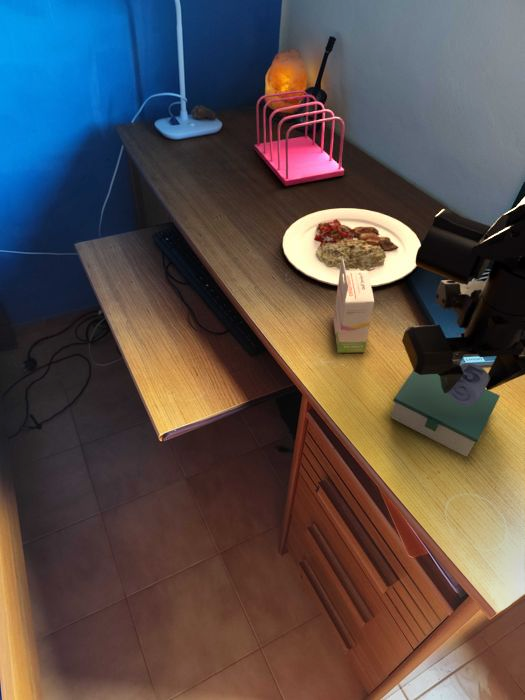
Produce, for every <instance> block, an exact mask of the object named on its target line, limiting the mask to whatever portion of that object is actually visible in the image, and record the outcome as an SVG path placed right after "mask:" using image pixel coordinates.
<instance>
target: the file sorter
mask: <svg viewBox="0 0 525 700" xmlns="http://www.w3.org/2000/svg"><path fill="white" fill-rule="evenodd" d="M293 94H302V95H295V96H289V97H287V95H293ZM280 96H286V97H282V98H281V97H280ZM273 97H280V98H274V99H270V100H268V101H267V102H266V103H265V104H264V106H263V109H262V132H263V142H261V143H260V120H259V118H260V117H259V116H260V115H259V108H260V107H259V105H260V103H261V101H263V100H264V99H266V98H273ZM305 98H306V103H299V104H296V105H290V106H285V107H281V108H277V109H275V110H274V111H272V112H271V114H270V116H269V118H268V134H269V135H268V136H269V142H268V141H267V139H266V135H267V133H266V109H267V107H268V106H269V105H270V104H272V103H277V102H283V101H291V100H297V99H305ZM310 98H311V99H313V101H311V102H310ZM313 105H314V111H310V112H309V108H310V107H309V106H313ZM318 105H319V106H320V107H321V110H320V109H319V110H318ZM302 107H306V110H305V112H304V113H298V114H292V115H288V116H284V117H282V119H281V120H280V121H279V123H278V125H277V140H274V141H273V133H272V119H273V117H274V115H275V114H276V113H279V112H284V111H288V110H293V109H298V108H302ZM255 112H256V114H255V115H256V116H255V117H256V144H255V143H254V151H255V152H256V153H257V154H258V156H259V157H260V158H261V159H262V160H263V162H264V163H265V164H266V166H268V168H269V169H270V170H271V171H272V172H273V173H274V175H275V176H276V177H277V178H278V180H279V181H280V182H281V183H282V184H283V185H284V187H289V186H293V185H299V184H306V183H310V182H315V181H319V180H326V179H330V178H335V177H341V176H344V174H345V169H344V168H343V167H342V160H343V159H342V158H343V149H344V136H345V122H344V120H343V119H342V118H341V117H339V116H335V113H334V112H333V111H332V110H330V109H325V105H324V104H323V103H322V102H320V101H317V98H316V97H315V96H314V95H312V94H308V93H307V92H306V91H305V90H303V89H301V90H300V89H299V90H292V91H285V92H278V93H271V94H265V95H262V96H260V98H259V99H258V100H257V102H256V106H255ZM326 113H329V114H330V116H331V117H328V118H327V117H326V116H325V115H326ZM317 114H321V119H317ZM311 115H313V120H312V121H309V116H311ZM300 117H305V122H302V123H298V124H294V125H292V126H290V127H289V129H288V130H287V131H286V133H285V139H281V126H282V125H283V123H284V122H285V121H287V120H289V119H296V118H300ZM325 117H326V118H325ZM335 120H336V121H339V122H340V123H341V131H340V144H339V156H338V163H337V161H335V160H334V159H333V147H334V133H335ZM326 122H331V133H330V145H329V147H330V148H329V154H328V153H327V152H326V151H325V150H324V138H325V123H326ZM320 123H321V138H320V139H321V140H320V146H319V145H318V144H317V143H316V129H317V127H316V126H317V124H320ZM309 125H313V130H312V138H311V137H309V135H308V126H309ZM301 127H304V128H305V129H304V136H298V137H297V136H296V137H292V138H289V135H290V133H291V131H293V130H294V129H296V128H301ZM255 147H256V148H257V149H258V151H259V152H260V153H261V155H262V156H263V157H264V158H263V157H262V156H261V155H260V153H259V152H258V151H257V150H256V149H255ZM265 160H266V161H267V162H266V161H265Z"/></svg>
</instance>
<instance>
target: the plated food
mask: <svg viewBox="0 0 525 700" xmlns="http://www.w3.org/2000/svg"><path fill="white" fill-rule="evenodd" d="M421 245H422V243H421V241H420V239H419V238H418V236H417V234H416V233H415V232H414V231H413V230H412V229H411V228H410V227H409V226H407V225H406V224H405V223H403V222H401V221H400V220H398V219H396V218H394V217H391V216H390V215H386V214H384V213H382V212H377V211H373V210H368V209H362V208H351V207H350V208H349V207H347V208H345V207H343V208H342V207H340V208H330V209H329V208H328V209H324V210H319V211H316V212H315V211H314V212H313V213H310V214H307V215H305V216H303V217H301V218H299V219H298V220H296V221H295V222H294V223H292V224H291V225H290V226H289V227H288V228H287V230H286V231H285V233H284V235H283V238H282V249H283V254H284V256H285V257H286V259H287V261H288V262H289V263H290V264H291V265H292V266H293V267H294V268H295V269H296V270H297V271H299V272H300V273H301V274H303V275H305V276H306V277H309V278H311V279H313V280H315V281H317V282H321V283H324V284H328V285H332V286H337V287H338V281H339V273H340V266H341V261H342V257H343V260H344V265H345V270H346V271H367V272H368V275H369V279H370V284H371V288H374V287H380V286H384V285H389V284H392V283H395V282H396V281H399V280H401V279H404V278H405V277H407V276H408V275H409V274H411V273H412V272H413V271H414V270H415V269H416V268H417V267H418V266H417V265H416V263H415V261H416V254H417V251H418V248H419V247H420V246H421Z"/></svg>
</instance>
